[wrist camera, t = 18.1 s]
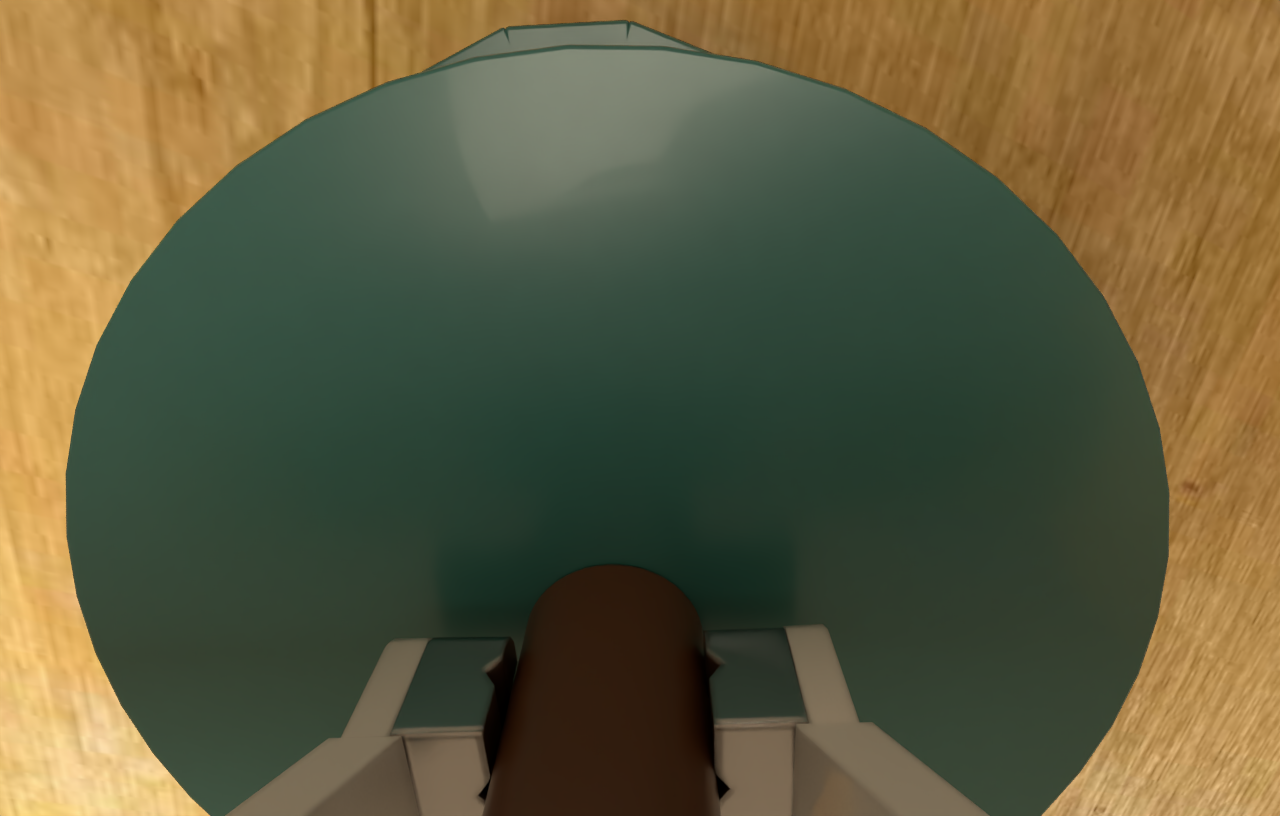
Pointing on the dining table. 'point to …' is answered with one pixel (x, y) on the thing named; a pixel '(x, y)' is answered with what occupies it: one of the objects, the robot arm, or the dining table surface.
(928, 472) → the tin lid
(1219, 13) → the dining table surface
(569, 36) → the tin
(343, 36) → the dining table surface
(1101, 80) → the dining table surface
